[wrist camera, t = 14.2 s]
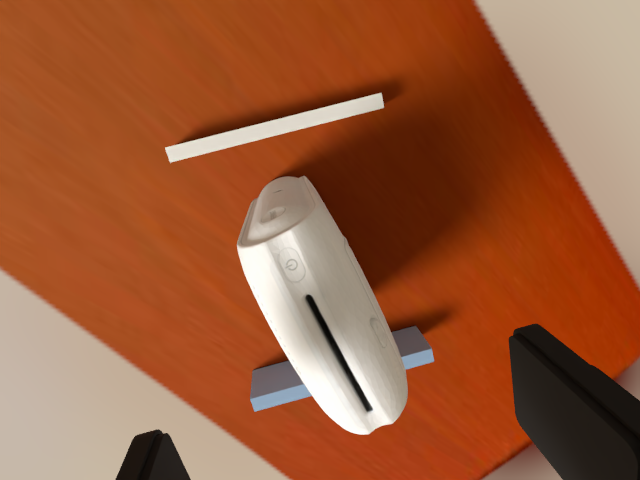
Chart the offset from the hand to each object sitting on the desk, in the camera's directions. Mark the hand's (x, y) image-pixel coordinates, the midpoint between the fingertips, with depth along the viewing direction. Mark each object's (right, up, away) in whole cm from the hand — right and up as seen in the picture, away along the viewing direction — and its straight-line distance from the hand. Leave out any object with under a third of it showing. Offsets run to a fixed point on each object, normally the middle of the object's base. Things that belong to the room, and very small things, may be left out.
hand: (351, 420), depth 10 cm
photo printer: (-2, +4, +15) cm, 16 cm away
